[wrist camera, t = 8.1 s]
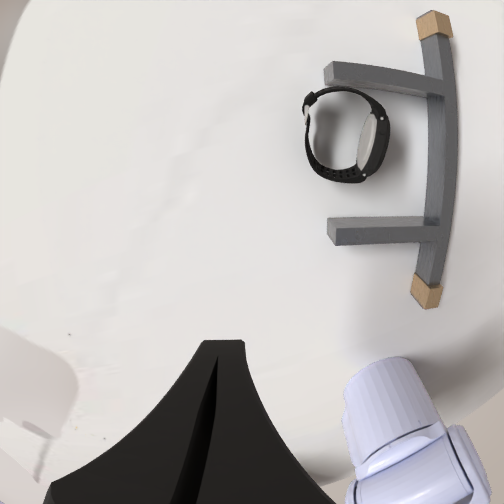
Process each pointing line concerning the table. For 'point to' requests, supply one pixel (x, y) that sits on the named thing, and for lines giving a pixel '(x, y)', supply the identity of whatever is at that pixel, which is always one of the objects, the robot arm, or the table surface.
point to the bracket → (439, 156)
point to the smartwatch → (369, 145)
